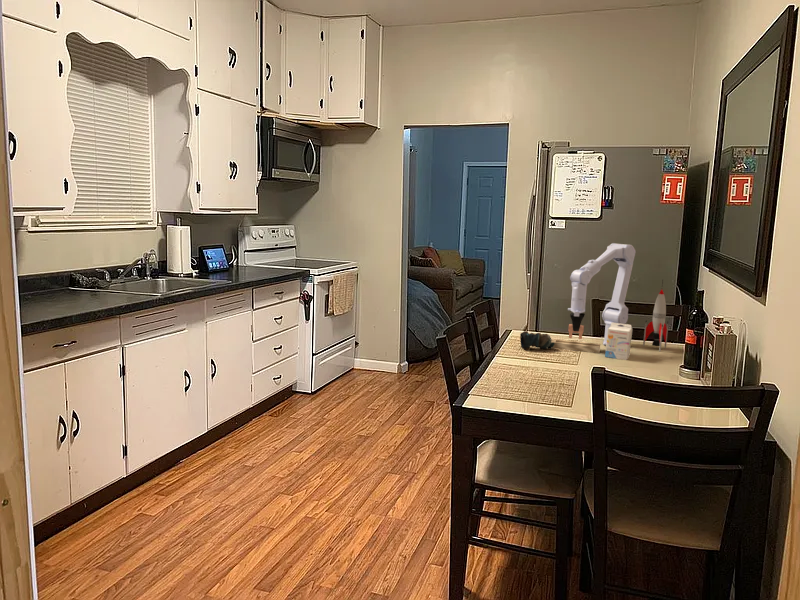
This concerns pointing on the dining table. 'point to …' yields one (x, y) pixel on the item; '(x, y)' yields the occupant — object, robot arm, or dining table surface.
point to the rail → (576, 346)
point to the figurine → (535, 340)
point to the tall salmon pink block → (575, 331)
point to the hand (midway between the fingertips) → (576, 330)
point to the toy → (657, 322)
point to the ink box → (618, 341)
